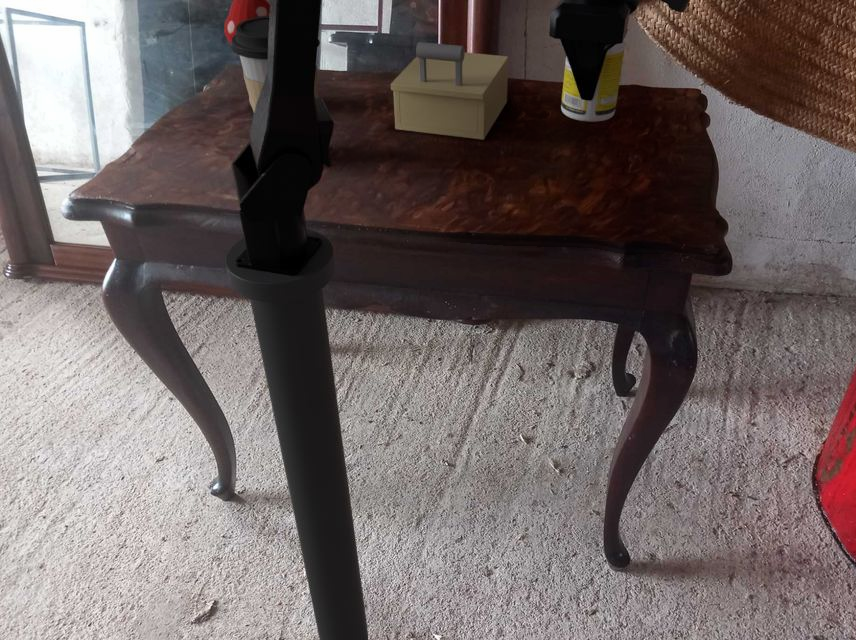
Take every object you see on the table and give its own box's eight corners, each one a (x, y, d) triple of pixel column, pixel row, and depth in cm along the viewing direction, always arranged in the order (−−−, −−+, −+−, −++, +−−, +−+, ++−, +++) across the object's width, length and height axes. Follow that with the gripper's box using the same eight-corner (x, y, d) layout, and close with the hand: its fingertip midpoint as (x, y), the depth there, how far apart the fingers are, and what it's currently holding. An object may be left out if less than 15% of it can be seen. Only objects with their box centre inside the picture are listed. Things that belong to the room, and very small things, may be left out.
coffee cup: (340, 166, 92) (327, 33, 83) (259, 179, 89) (235, 44, 80) (321, 134, 99) (306, 8, 89) (245, 146, 96) (221, 17, 87)
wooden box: (483, 139, 98) (484, 98, 95) (395, 129, 100) (392, 88, 97) (506, 102, 107) (508, 62, 104) (425, 93, 110) (424, 54, 106)
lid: (482, 100, 94) (483, 54, 91) (390, 90, 96) (388, 45, 93) (508, 62, 104) (509, 19, 101) (424, 54, 106) (423, 12, 103)
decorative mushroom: (251, 91, 110) (232, -25, 100) (312, 94, 109) (299, -23, 100) (228, 120, 102) (204, -3, 93) (293, 123, 102) (276, 0, 92)
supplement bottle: (613, 104, 81) (628, 3, 75) (615, 125, 77) (632, 19, 71) (560, 101, 81) (571, -1, 75) (559, 121, 77) (571, 15, 71)
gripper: (703, -61, 59) (667, 137, 69) (712, -104, 73) (681, 66, 83) (556, -72, 61) (541, 121, 71) (592, -111, 75) (576, 55, 85)
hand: (591, 89), depth 77 cm, fingers closed on supplement bottle, 5 cm apart
